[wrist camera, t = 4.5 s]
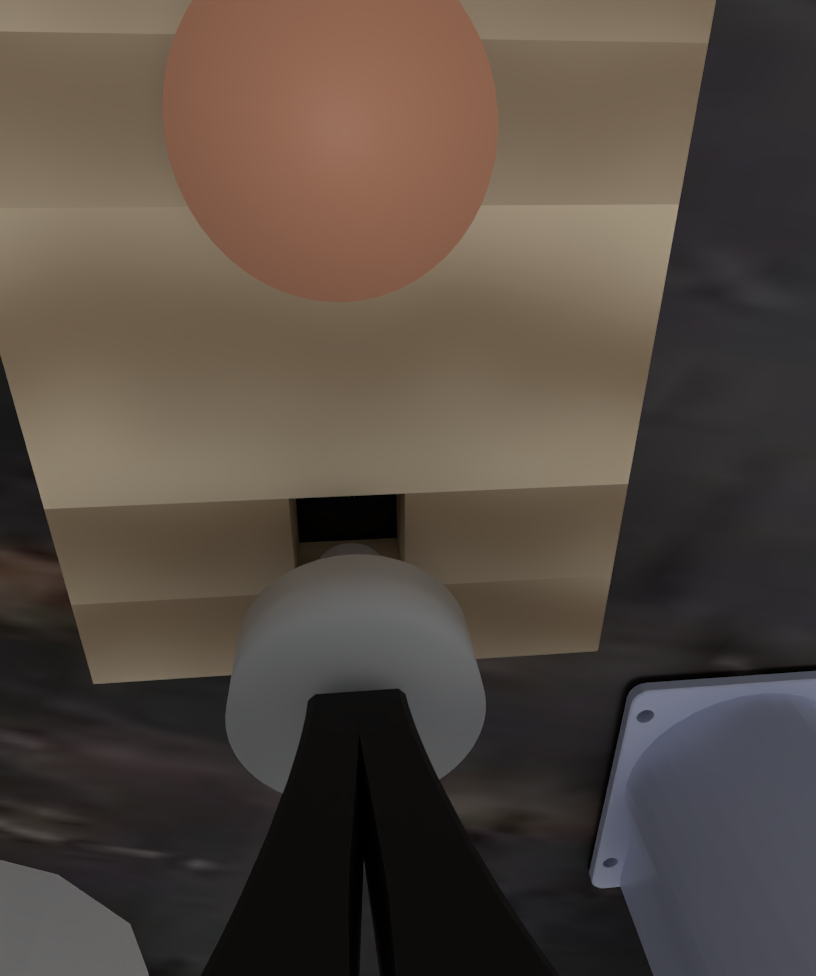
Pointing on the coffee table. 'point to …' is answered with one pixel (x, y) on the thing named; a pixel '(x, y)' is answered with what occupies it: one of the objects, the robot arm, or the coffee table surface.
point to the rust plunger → (331, 137)
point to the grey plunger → (352, 657)
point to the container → (60, 929)
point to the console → (337, 339)
